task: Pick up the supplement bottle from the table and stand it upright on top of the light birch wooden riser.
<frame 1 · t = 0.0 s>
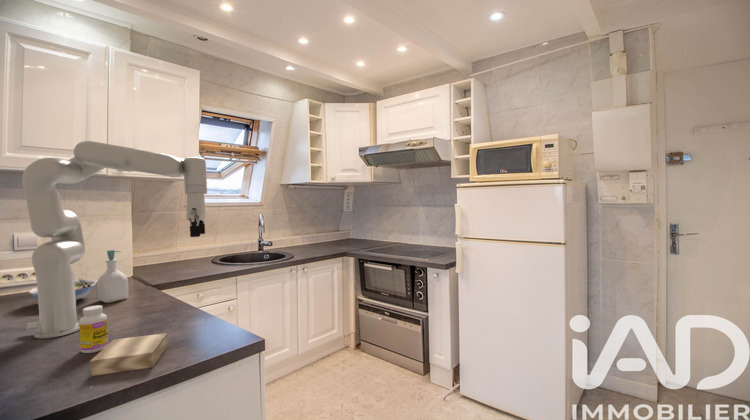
hand: (198, 235, 132), 31 cm above the worktop, tool pointing down, fingers open, 9 cm apart
soap bottle: (113, 300, 158), on the worktop
ramen bowl: (65, 302, 156), on the worktop
supplement bottle: (94, 349, 106), on the worktop
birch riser: (132, 359, 99), on the worktop
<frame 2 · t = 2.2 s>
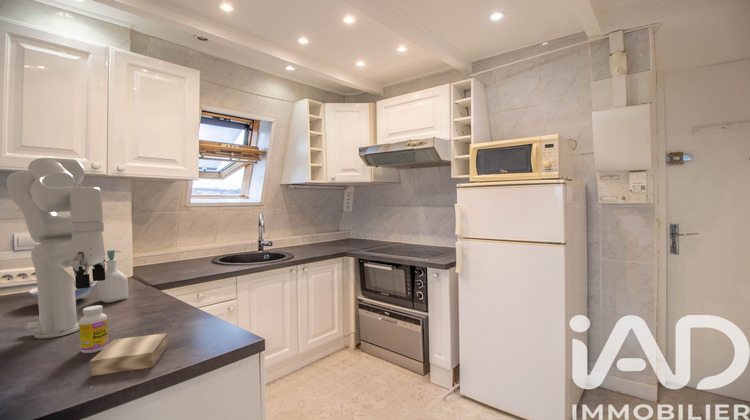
hand: (91, 284, 105), 20 cm above the worktop, tool pointing down, fingers open, 9 cm apart
nothing on the worktop moved.
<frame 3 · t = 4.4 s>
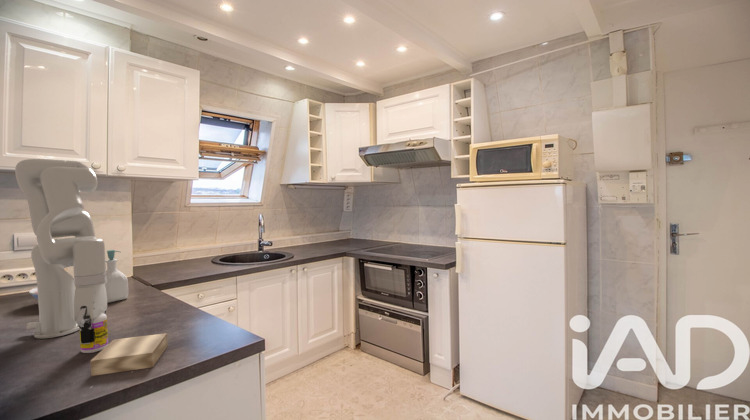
hand: (94, 337, 106), 4 cm above the worktop, tool pointing down, fingers closed on supplement bottle, 6 cm apart
supplement bottle: (95, 349, 106), on the worktop, touching gripper
everything else where it was.
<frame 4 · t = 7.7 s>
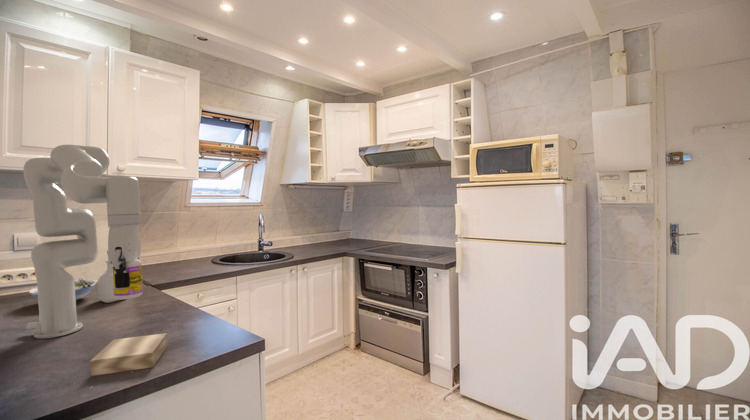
hand: (128, 283, 98), 22 cm above the worktop, tool pointing down, fingers closed on supplement bottle, 6 cm apart
supplement bottle: (128, 297, 98), point 18 cm above the worktop, touching gripper
everything else where it was.
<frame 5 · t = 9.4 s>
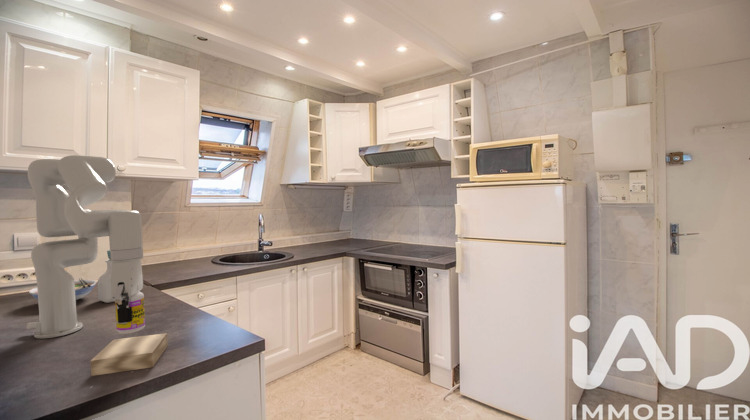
hand: (130, 317, 98), 12 cm above the worktop, tool pointing down, fingers closed on supplement bottle, 6 cm apart
supplement bottle: (131, 330, 98), point 8 cm above the worktop, touching gripper
everything else where it was.
when the fingers open (9 cm above the worktop, at t = 11.0 s): supplement bottle drops 1 cm, resting on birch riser.
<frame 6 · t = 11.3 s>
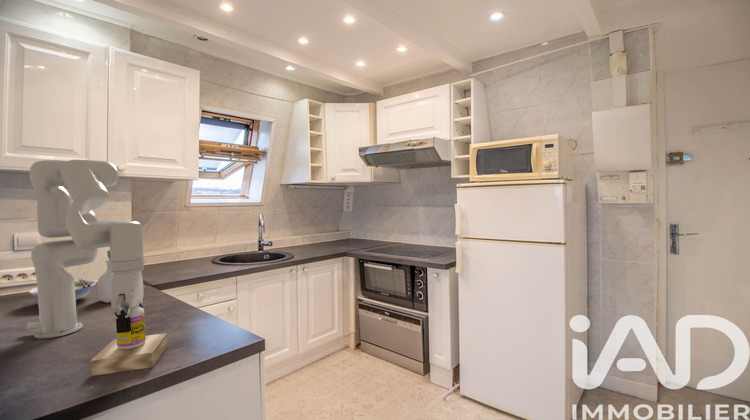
hand: (131, 325, 98), 10 cm above the worktop, tool pointing down, fingers open, 9 cm apart
supplement bottle: (132, 346, 99), point 4 cm above the worktop, touching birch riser
everything else where it was.
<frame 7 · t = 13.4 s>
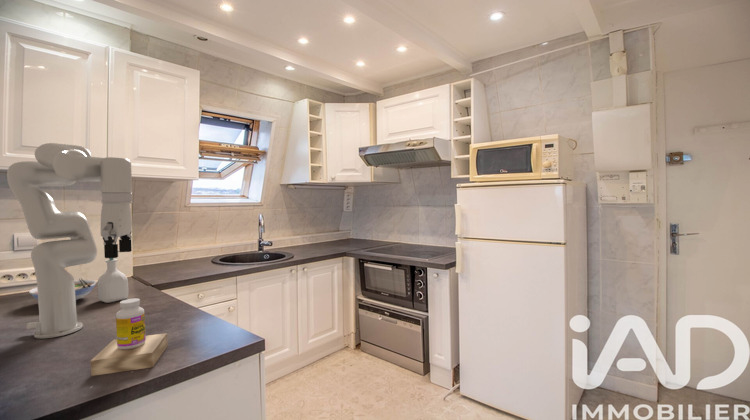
hand: (118, 254, 106), 29 cm above the worktop, tool pointing down, fingers open, 9 cm apart
nothing on the worktop moved.
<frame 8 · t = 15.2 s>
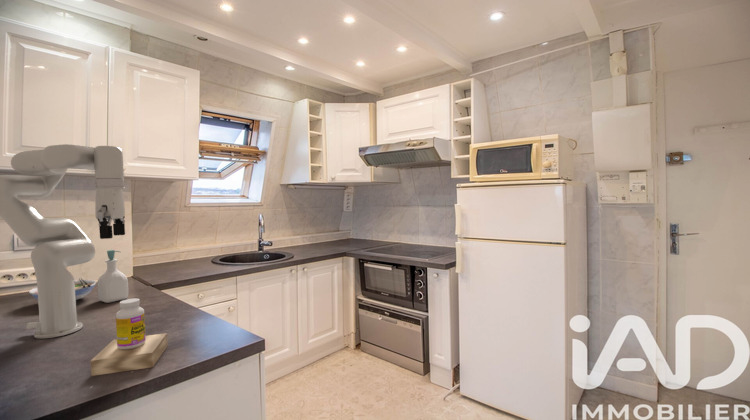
hand: (113, 236, 114), 33 cm above the worktop, tool pointing down, fingers open, 9 cm apart
nothing on the worktop moved.
at the end: supplement bottle inside the target area on the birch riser (0.3 cm from its centre), point 3.8 cm above the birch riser's base; supplement bottle tilted 0°; the gripper is holding nothing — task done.
